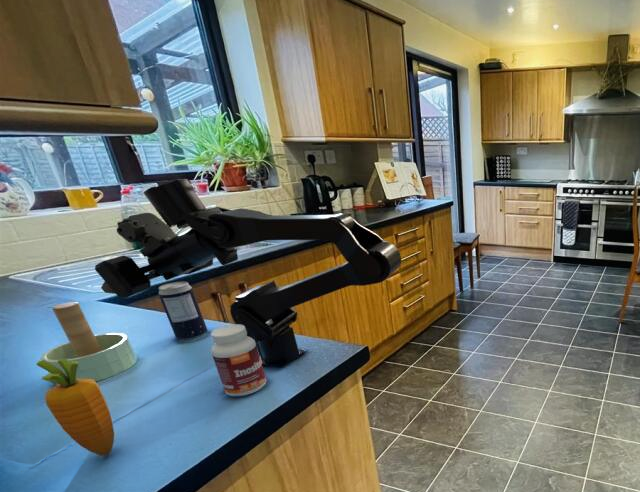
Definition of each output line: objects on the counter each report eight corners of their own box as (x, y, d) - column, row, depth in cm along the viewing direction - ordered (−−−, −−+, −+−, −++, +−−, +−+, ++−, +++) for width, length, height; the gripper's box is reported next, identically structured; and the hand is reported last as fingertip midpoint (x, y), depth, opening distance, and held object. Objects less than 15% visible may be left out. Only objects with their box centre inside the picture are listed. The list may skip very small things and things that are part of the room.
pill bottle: (244, 400, 66) (224, 340, 61) (216, 394, 67) (194, 336, 63) (275, 380, 71) (258, 324, 66) (249, 375, 73) (230, 320, 68)
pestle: (121, 364, 76) (91, 301, 71) (92, 377, 72) (57, 311, 67) (103, 361, 77) (72, 299, 72) (73, 374, 73) (37, 309, 68)
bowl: (153, 361, 78) (142, 335, 76) (85, 392, 69) (70, 365, 66) (111, 355, 81) (99, 330, 79) (39, 384, 71) (24, 357, 69)
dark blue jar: (214, 331, 91) (197, 281, 86) (194, 343, 85) (174, 290, 81) (191, 330, 91) (172, 280, 86) (170, 342, 86) (148, 289, 81)
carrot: (139, 446, 56) (91, 352, 50) (96, 472, 51) (37, 372, 45) (116, 439, 57) (67, 347, 51) (72, 463, 53) (13, 366, 47)
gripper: (201, 198, 76) (142, 230, 79) (104, 215, 59) (34, 255, 62) (239, 252, 80) (181, 280, 83) (158, 281, 63) (89, 315, 66)
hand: (128, 281), depth 73 cm, fingers open, 9 cm apart
